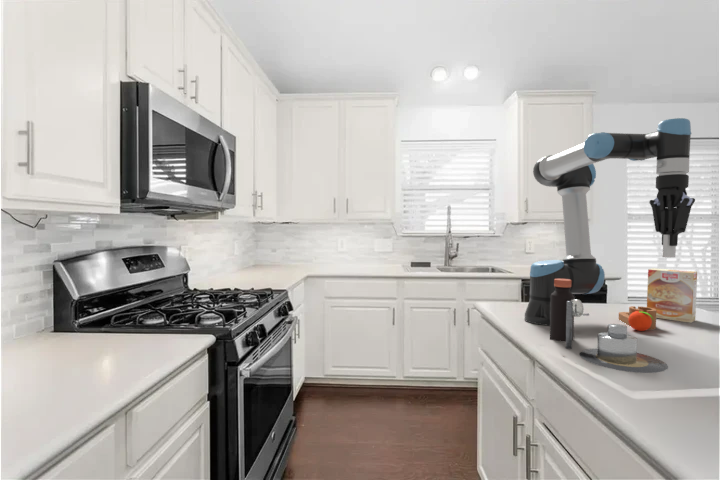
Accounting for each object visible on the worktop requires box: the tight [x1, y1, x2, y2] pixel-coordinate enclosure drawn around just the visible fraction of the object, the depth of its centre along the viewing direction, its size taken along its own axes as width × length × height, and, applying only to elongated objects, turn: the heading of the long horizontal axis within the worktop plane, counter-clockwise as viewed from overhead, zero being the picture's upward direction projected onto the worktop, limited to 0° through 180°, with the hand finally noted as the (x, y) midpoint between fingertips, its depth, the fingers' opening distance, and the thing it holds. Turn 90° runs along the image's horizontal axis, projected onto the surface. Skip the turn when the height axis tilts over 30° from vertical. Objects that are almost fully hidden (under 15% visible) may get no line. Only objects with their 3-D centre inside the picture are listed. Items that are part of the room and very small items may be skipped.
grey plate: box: [579, 348, 669, 374], centre depth 112 cm, size 20×20×1 cm
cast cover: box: [597, 323, 638, 365], centre depth 112 cm, size 9×9×9 cm
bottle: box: [549, 279, 575, 343], centre depth 132 cm, size 7×7×20 cm
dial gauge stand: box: [565, 298, 590, 350], centre depth 122 cm, size 5×8×16 cm, turn 96°
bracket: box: [618, 305, 657, 331], centre depth 158 cm, size 18×8×7 cm, turn 168°
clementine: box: [628, 311, 654, 332], centre depth 147 cm, size 8×7×7 cm
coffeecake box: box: [646, 267, 698, 324], centre depth 167 cm, size 15×7×20 cm, turn 43°
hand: (668, 257), depth 120 cm, fingers closed
